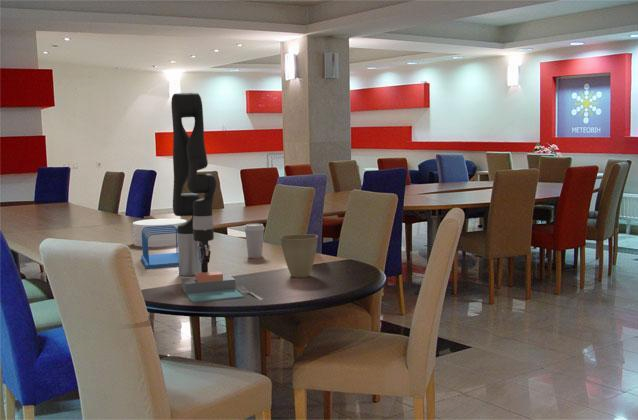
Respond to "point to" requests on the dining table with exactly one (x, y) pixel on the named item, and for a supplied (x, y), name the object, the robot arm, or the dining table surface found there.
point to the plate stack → (158, 239)
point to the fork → (249, 292)
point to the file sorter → (158, 259)
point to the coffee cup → (254, 240)
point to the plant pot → (299, 253)
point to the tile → (209, 276)
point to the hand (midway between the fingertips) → (204, 273)
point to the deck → (207, 285)
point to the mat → (214, 295)
